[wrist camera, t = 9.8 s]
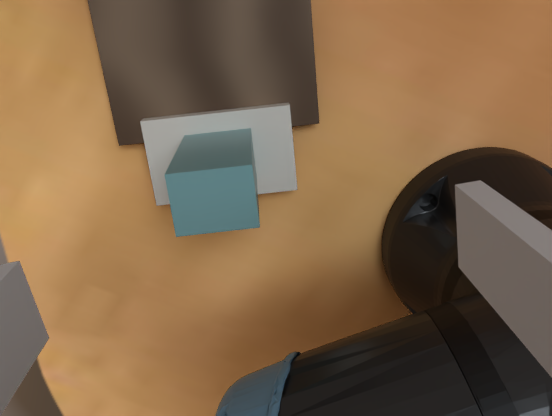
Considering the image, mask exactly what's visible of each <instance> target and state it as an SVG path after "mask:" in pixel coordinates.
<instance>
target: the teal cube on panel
mask: <svg viewBox="0 0 552 416" xmlns="http://www.w3.org/2000/svg"><path fill="white" fill-rule="evenodd" d="M140 124H141V129H142V134H143V139H144V144H145V149H146V154H147V159H148V164H149V169H150V174H151V179H152V185H153V190H154V195H155V200H156V205H157V206H158V205H167V204H170V207H171V212H172V218H173V223H174V228H175V234H176V237H179V236H188V235H197V234H206V233H215V232H223V231H232V230H241V229H250V228H259V227H260V222H259V205H258V194H264V193H273V192H282V191H291V190H297V180H296V169H295V158H294V146H293V135H292V124H291V113H290V104H289V103H281V104H271V105H262V106H253V107H244V108H235V109H226V110H217V111H208V112H199V113H190V114H181V115H171V116H162V117H153V118H144V119H142V120H141V121H140Z"/></svg>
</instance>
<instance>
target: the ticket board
mask: <svg viewBox="0 0 552 416" xmlns="http://www.w3.org/2000/svg"><path fill="white" fill-rule="evenodd" d="M88 4H89V9H90V14H91V18H92V23H93V28H94V32H95V37H96V41H97V46H98V51H99V55H100V60H101V65H102V69H103V74H104V78H105V83H106V88H107V92H108V97H109V102H110V106H111V111H112V116H113V120H114V125H115V129H116V134H117V139H118V143H119V146H120V145H129V144H138V143H144V139H143V134H142V129H141V124H140V121H141V120H142V119H144V118H153V117H162V116H171V115H181V114H190V113H199V112H208V111H217V110H226V109H235V108H244V107H253V106H262V105H271V104H281V103H289V104H290V113H291V124H292V126H300V125H309V124H318V123H319V113H318V99H317V85H316V70H315V56H314V42H313V28H312V13H311V0H88Z"/></svg>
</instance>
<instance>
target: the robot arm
mask: <svg viewBox="0 0 552 416" xmlns="http://www.w3.org/2000/svg"><path fill="white" fill-rule="evenodd" d="M382 258H383V263H384V267H385V271H386V274H387V276H388V278H389V280H390V282H391V284H392V286H393V288H394V290H395V291H396V293H397V295H398V297H399V298H400V300H401V301H402V302H403V304H404V305H405V306H406V307H407V308H408V309H409V310H410V311H411V312H412V313H413V314H412V315H409V316H406V317H403V318H400V319H397V320H394V321H392V322H389V323H386V324H383V325H380V326H377V327H375V328H372V329H369V330H366V331H363V332H360V333H358V334H355V335H352V336H349V337H346V338H343V339H340V340H338V341H335V342H332V343H329V344H326V345H323V346H321V347H318V348H315V349H312V350H309V351H306V352H304V353H300V352H293V353H290V354H289V355H288V356H287V357H286V358H285V359H284V360H282V361H280V362H277V363H275V364H272V365H270V366H268V367H265V368H263V369H260V370H258V371H256V372H253V373H251V374H248V375H246V376H244V377H242V378H240V379H239V380H237V381H236V382H235V383H234V384H233V385H232V386H231V387H230V388H229V389H228V390H227V392H226V393H225V394H224V396H223V398H222V400H221V402H220V404H219V406H218V409H217V412H216V415H215V416H552V168H551V167H549V166H547V165H546V164H544V163H542V162H540V161H538V160H536V159H534V158H532V157H530V156H528V155H526V154H524V153H521V152H518V151H515V150H511V149H506V148H497V147H483V148H475V149H469V150H465V151H461V152H458V153H455V154H452V155H450V156H447V157H445V158H443V159H441V160H439V161H437V162H435V163H434V164H432V165H431V166H429V167H428V168H426V169H425V170H423V171H422V172H421V173H420V174H418V175H417V176H416V177H415V178H414V179H413V180H412V181H411V182H410V183H409V184H408V185H407V186H406V187H405V189H404V190H403V191H402V192H401V194H400V195H399V197H398V198H397V200H396V201H395V203H394V205H393V207H392V209H391V210H390V213H389V215H388V218H387V220H386V223H385V227H384V231H383V237H382ZM48 339H49V336H48V334H47V331H46V328H45V326H44V323H43V321H42V318H41V316H40V313H39V310H38V308H37V305H36V303H35V300H34V297H33V295H32V292H31V290H30V287H29V285H28V282H27V279H26V277H25V274H24V272H23V269H22V266H21V264H20V261H16V262H11V263H5V264H0V416H1V415H2V413H3V411H4V410H5V408H6V407H7V405H8V403H9V402H10V400H11V399H12V397H13V395H14V394H15V392H16V390H17V389H18V387H19V385H20V384H21V382H22V381H23V379H24V377H25V376H26V374H27V373H28V371H29V370H30V368H31V366H32V365H33V363H34V362H35V360H36V358H37V357H38V355H39V353H40V352H41V350H42V349H43V347H44V345H45V344H46V342H47V341H48Z"/></svg>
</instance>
